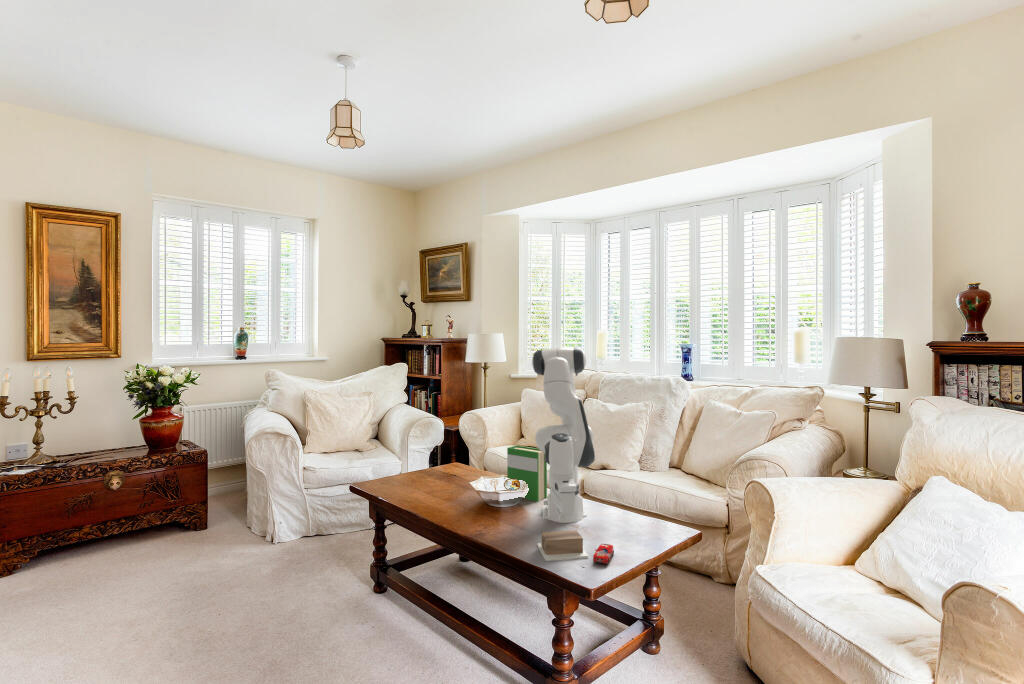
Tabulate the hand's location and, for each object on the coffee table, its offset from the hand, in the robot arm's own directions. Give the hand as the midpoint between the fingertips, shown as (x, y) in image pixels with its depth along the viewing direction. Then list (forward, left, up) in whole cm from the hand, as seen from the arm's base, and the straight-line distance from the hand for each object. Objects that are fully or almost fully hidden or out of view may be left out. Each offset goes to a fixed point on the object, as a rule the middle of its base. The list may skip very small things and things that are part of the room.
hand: (561, 519), depth 189 cm
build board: (0, 0, -12) cm, 12 cm away
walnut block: (0, 0, -10) cm, 10 cm away
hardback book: (-64, -1, -12) cm, 65 cm away
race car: (+11, +12, -13) cm, 21 cm away
